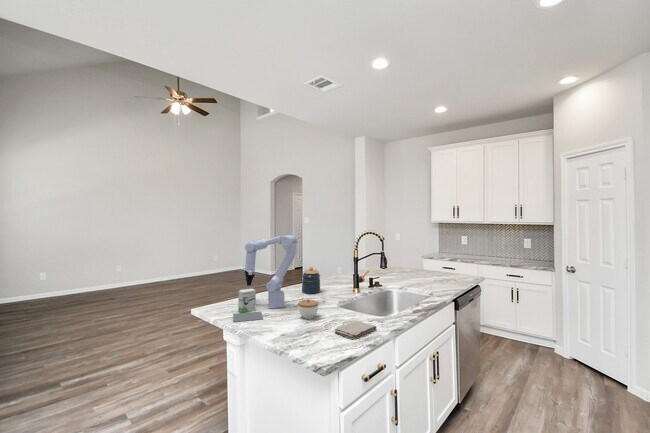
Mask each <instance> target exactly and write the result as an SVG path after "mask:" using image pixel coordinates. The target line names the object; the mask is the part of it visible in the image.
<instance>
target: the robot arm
mask: <svg viewBox="0 0 650 433" xmlns="http://www.w3.org/2000/svg"><path fill="white" fill-rule="evenodd" d="M275 244H279V245H281V246H282V248H283V249H284V250H285V255H284V257H283V259H282V261H281V263H280V265H279V267H278V268H277V270H276V272H275V273H274V274H275V275H273V277H272V278H271V279H270V280H269V281H268V282H267V283H266V286H265V288H266V290H267V293H268V296H267V297H268V298H267V299H268V300H267V301H268V303H267V308H268V309H278V308H285V307H286V306H285V302H286V301H285V292H284V290H281V289H282V287H283V282H284V278H285V276H286V274H287V271H288V270H289V268H290V266H291V264H292V262H293V260H294V258H295V257H296V255H297V249H298V248H297V246H298V240H297V237H296V235H294V234H287V235H279V236H275V237H271V238H270V239H265V238H263V237H261V238H259V239H258V240H253V241H252V242H247V243H246V244H245V246H244V250H245V251H246V255H245V265H244V266H245V268H243V269H242V270H243V271H244V273H245V274H244V275H245V280H246V286H249V287H250V286H251V285H252V282H253V279H254V278H255V276H256V275H255V274H254V272H255V270H256V268H255V267H256V257H257V251H260V250H264V249H267V248H268V246H270V245H275Z"/></svg>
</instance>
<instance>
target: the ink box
mask: <svg viewBox="0 0 650 433" xmlns="http://www.w3.org/2000/svg"><path fill="white" fill-rule="evenodd" d="M256 293H257V292H256V289H254V288H246V289H245V288H244V289H239V290H238V305H237V306H238V307H237V308H238V312H239V313H249V312H256V298H257V295H256Z"/></svg>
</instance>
